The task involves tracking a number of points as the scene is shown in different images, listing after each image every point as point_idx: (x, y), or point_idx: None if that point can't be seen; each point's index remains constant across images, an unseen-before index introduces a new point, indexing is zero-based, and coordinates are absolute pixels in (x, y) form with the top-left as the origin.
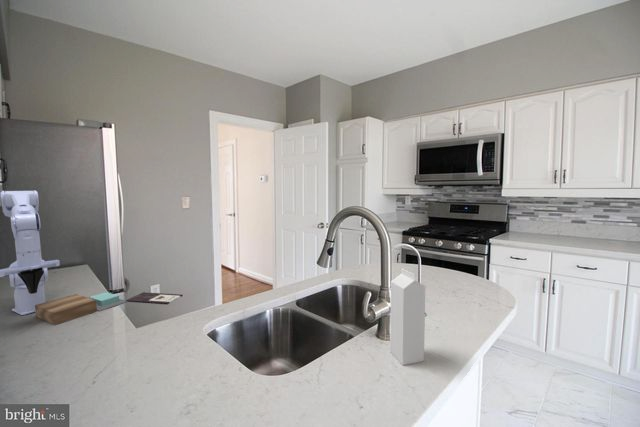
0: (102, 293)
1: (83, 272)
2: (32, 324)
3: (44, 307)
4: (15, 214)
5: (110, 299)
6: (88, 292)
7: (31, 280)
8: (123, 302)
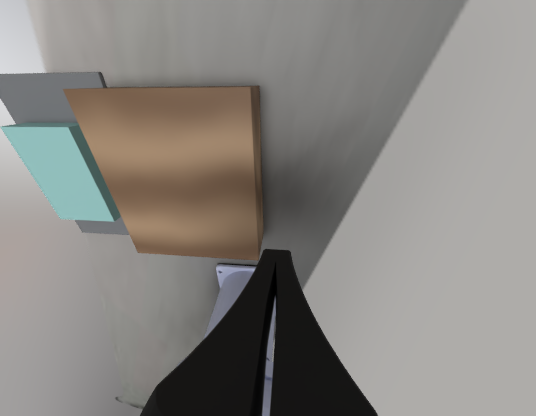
0: (71, 216)
1: (127, 380)
2: (295, 177)
3: (248, 209)
4: None
5: (39, 126)
6: (126, 286)
7: (289, 335)
8: (4, 78)
